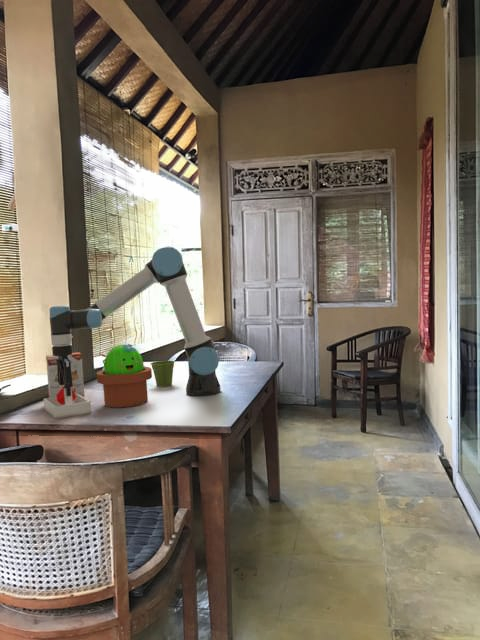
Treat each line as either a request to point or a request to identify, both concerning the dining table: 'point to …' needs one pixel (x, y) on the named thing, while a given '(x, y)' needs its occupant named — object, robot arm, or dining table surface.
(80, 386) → the cracker box
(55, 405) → the box
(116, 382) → the potted cactus
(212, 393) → the robot arm
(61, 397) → the apple
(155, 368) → the plant pot
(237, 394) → the dining table surface
